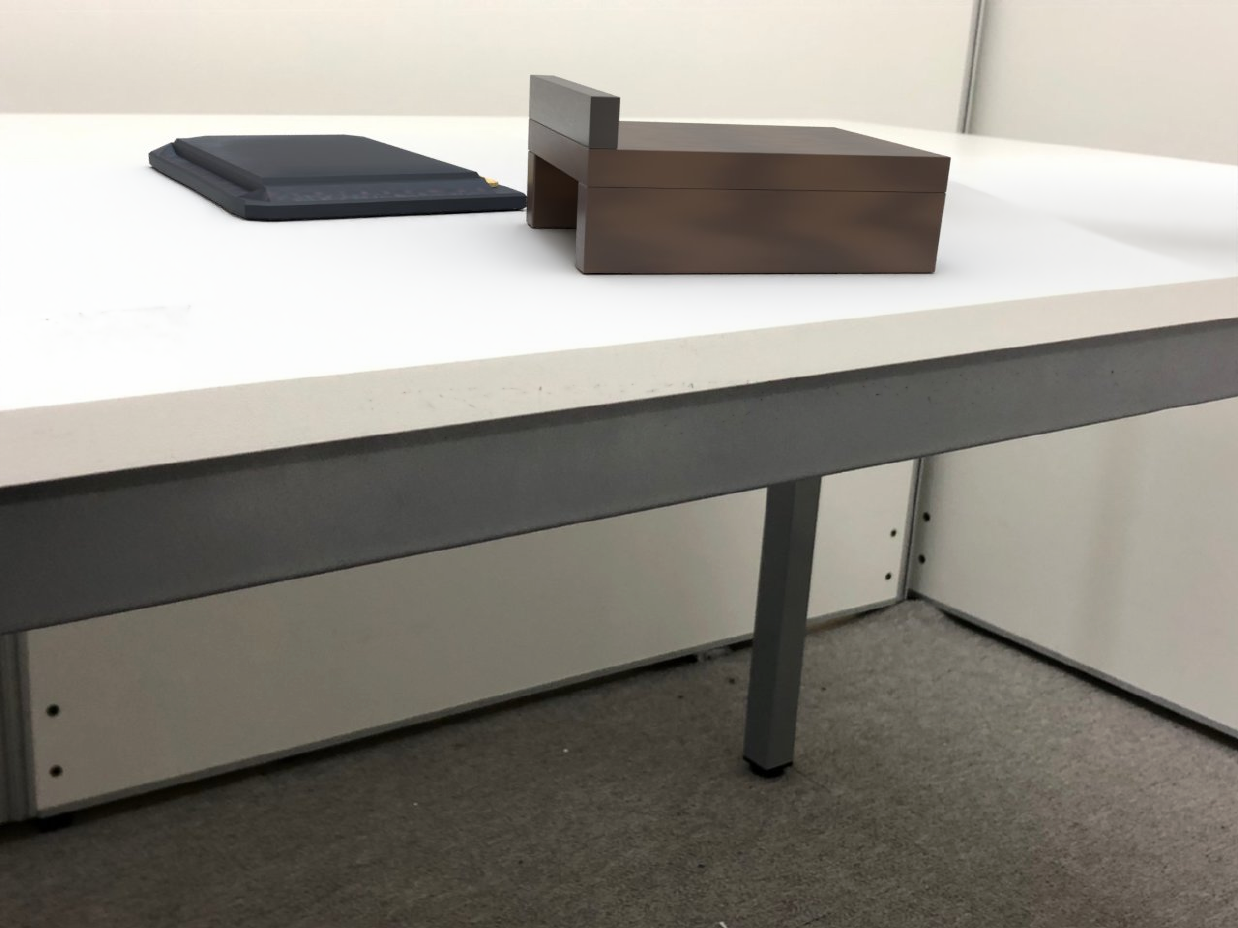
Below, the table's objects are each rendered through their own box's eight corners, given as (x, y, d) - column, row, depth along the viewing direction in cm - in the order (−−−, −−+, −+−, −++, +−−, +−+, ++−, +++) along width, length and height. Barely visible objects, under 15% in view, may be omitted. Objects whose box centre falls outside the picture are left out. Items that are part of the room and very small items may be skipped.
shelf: (824, 224, 67) (839, 86, 64) (935, 272, 56) (958, 108, 53) (525, 222, 62) (529, 74, 60) (583, 274, 52) (590, 96, 49)
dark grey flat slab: (143, 131, 74) (392, 130, 81) (146, 164, 74) (392, 160, 82) (232, 180, 58) (532, 173, 65) (234, 222, 58) (531, 211, 66)
